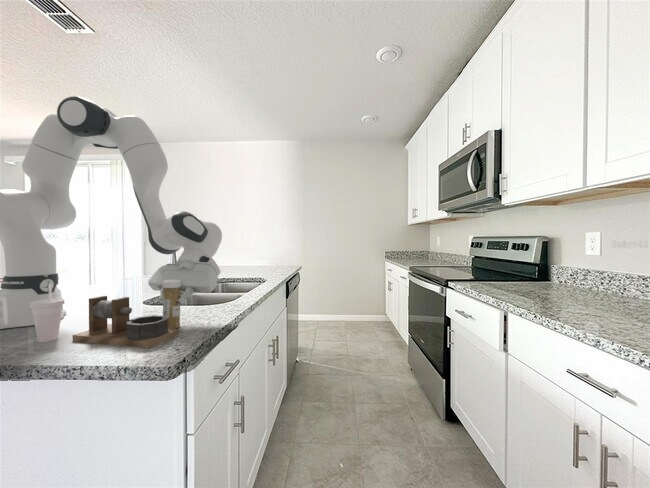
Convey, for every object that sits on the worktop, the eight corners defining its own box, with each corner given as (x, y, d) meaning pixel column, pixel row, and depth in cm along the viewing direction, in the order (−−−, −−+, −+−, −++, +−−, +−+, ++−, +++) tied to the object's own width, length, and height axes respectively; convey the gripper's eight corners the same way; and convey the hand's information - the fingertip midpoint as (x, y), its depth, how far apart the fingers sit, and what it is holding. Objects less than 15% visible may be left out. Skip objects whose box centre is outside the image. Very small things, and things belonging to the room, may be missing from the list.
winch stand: (72, 341, 74) (72, 300, 74) (109, 329, 84) (109, 293, 84) (149, 348, 69) (148, 305, 69) (178, 335, 79) (178, 297, 79)
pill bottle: (181, 328, 85) (182, 280, 84) (162, 330, 82) (164, 281, 82) (178, 324, 89) (179, 278, 88) (161, 326, 86) (162, 279, 86)
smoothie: (71, 337, 77) (70, 282, 77) (40, 345, 71) (39, 286, 71) (54, 334, 79) (54, 281, 79) (23, 342, 73) (23, 284, 73)
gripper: (158, 257, 94) (132, 294, 85) (217, 258, 90) (197, 297, 80) (168, 270, 98) (145, 306, 89) (225, 272, 94) (207, 310, 85)
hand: (170, 302), depth 85 cm, fingers closed on pill bottle, 4 cm apart
